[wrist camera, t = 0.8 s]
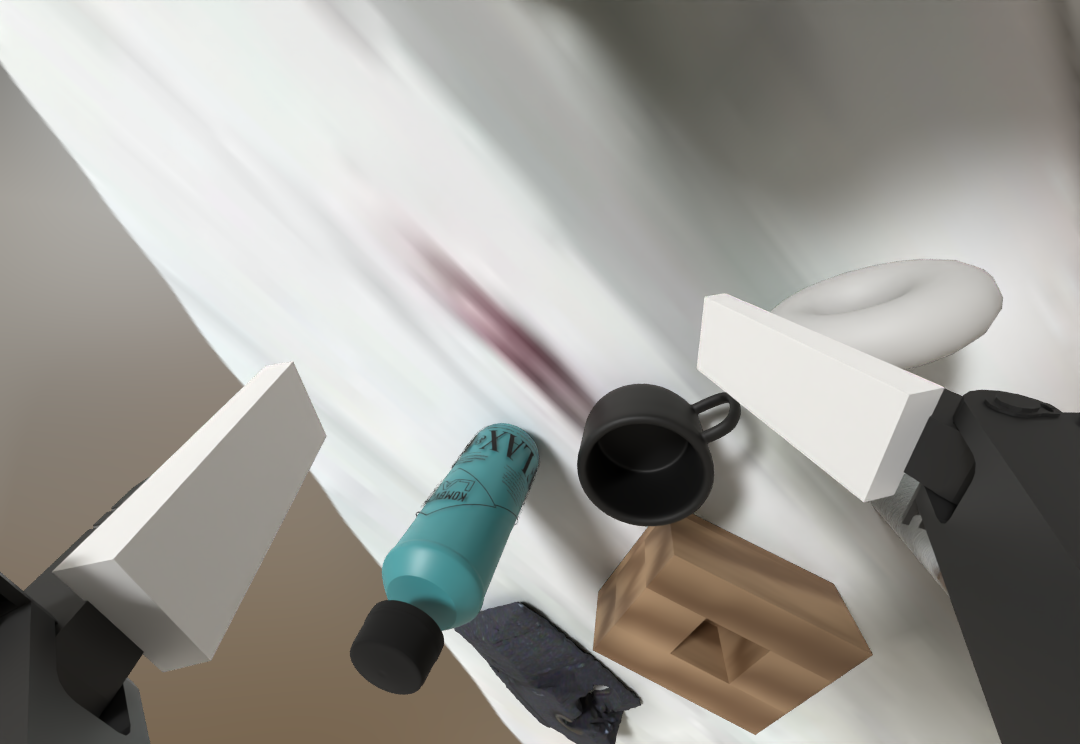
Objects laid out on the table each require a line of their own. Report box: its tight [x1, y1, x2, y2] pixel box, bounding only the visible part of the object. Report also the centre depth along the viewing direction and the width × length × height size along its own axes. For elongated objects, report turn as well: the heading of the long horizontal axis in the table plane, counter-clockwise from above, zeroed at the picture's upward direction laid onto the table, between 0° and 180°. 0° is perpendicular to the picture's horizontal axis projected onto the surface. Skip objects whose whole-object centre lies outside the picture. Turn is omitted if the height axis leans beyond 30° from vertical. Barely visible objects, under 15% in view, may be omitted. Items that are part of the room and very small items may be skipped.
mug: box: [577, 384, 741, 526], centre depth 28 cm, size 12×9×7 cm
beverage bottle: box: [350, 423, 540, 694], centre depth 27 cm, size 6×7×20 cm
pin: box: [871, 474, 949, 596], centre depth 23 cm, size 4×4×14 cm
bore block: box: [593, 514, 873, 735], centre depth 34 cm, size 14×16×6 cm
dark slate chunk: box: [454, 602, 641, 744], centre depth 45 cm, size 15×22×5 cm
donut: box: [771, 259, 1003, 370], centre depth 21 cm, size 10×4×10 cm, turn 116°
